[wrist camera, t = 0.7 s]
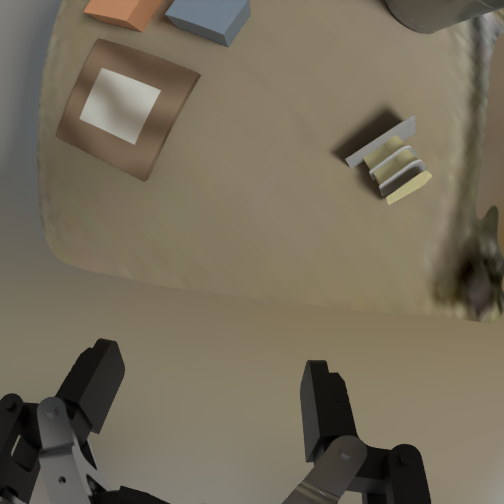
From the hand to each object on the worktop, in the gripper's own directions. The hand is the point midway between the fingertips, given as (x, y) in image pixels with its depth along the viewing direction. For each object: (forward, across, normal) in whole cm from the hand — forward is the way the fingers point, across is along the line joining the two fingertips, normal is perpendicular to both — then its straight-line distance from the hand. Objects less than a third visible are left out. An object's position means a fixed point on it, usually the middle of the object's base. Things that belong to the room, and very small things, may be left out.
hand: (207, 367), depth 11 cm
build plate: (+25, +15, -12) cm, 32 cm away
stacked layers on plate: (+26, -17, -8) cm, 32 cm away
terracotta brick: (+26, +15, -26) cm, 39 cm away
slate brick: (+26, +5, -22) cm, 34 cm away
